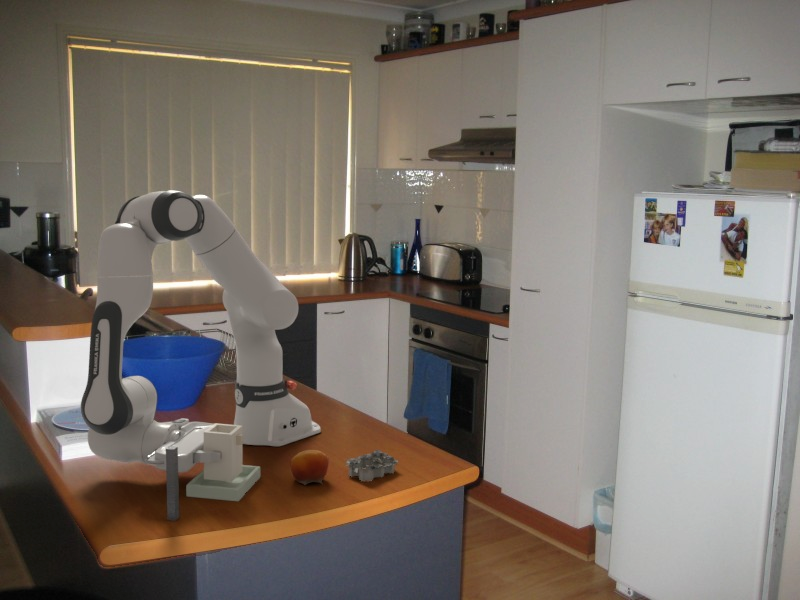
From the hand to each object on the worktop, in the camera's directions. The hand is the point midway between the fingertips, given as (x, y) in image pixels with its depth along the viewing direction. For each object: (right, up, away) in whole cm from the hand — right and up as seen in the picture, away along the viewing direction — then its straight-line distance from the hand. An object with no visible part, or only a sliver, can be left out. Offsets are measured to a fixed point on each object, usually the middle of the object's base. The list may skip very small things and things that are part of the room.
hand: (227, 450), depth 165 cm
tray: (-1, -8, +2) cm, 8 cm away
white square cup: (-1, -5, +1) cm, 6 cm away
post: (-7, -10, -14) cm, 19 cm away
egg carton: (+29, -8, +11) cm, 32 cm away
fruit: (+16, -8, +6) cm, 19 cm away
